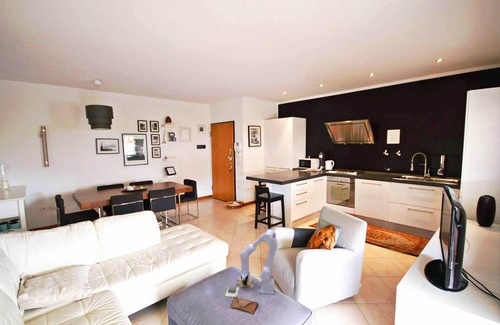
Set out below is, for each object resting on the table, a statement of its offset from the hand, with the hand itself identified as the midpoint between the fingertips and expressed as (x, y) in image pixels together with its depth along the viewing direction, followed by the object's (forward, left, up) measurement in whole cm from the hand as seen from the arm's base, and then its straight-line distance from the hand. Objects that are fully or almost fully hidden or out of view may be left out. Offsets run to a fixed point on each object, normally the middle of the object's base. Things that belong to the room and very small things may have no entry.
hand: (245, 283), depth 169 cm
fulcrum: (+8, +9, -1) cm, 12 cm away
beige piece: (0, 0, -1) cm, 1 cm away
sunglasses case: (-3, +22, -2) cm, 22 cm away
